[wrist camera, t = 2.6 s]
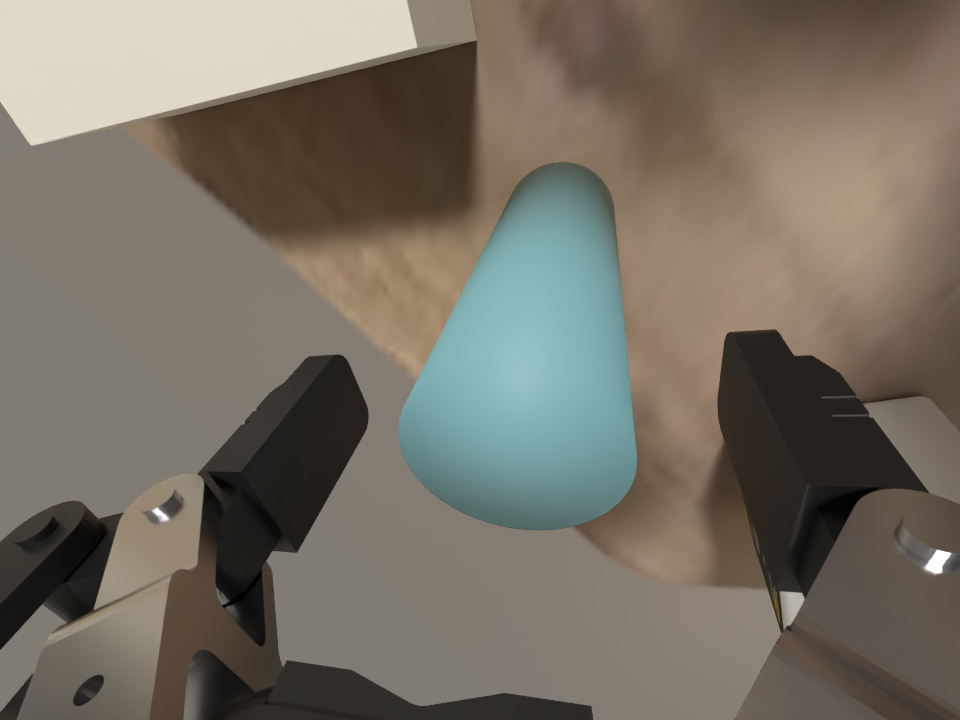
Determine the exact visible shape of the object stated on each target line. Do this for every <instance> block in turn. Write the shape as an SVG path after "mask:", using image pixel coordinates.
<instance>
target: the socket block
mask: <svg viewBox="0 0 960 720" xmlns="http://www.w3.org/2000/svg"><path fill="white" fill-rule="evenodd" d="M473 41H477V39H476V33H475V27H474V21H473V15H472V9H471V3H470V0H0V102H1V103H2V105H3V106H4V107H5V109H6V110H7V112H8V113H9V115H10V116H11V118H12V119H13V120H14V122H15V123H16V125H17V126H18V128H19V129H20V131H21V132H22V134H23V135H24V136H25V138H26V139H27V141H28V142H29V143H30V145H31V146H33V145H38V144H42V143H47V142H51V141H56V140H61V139H66V138H71V137H75V136H80V135H85V134H90V133H94V132H99V131H103V130H109V129H113V128H118V127H123V126H128V125H132V124H137V123H142V122H146V121H151V120H156V119H161V118H165V117H170V116H175V115H180V114H184V113H188V112H192V111H196V110H200V109H204V108H208V107H212V106H216V105H220V104H224V103H228V102H232V101H236V100H240V99H244V98H248V97H252V96H256V95H260V94H264V93H268V92H272V91H276V90H280V89H284V88H288V87H292V86H296V85H300V84H304V83H308V82H312V81H316V80H320V79H324V78H328V77H332V76H336V75H340V74H344V73H348V72H352V71H356V70H360V69H365V68H369V67H373V66H377V65H381V64H385V63H389V62H393V61H397V60H401V59H405V58H409V57H413V56H417V55H421V54H425V53H429V52H433V51H437V50H441V49H445V48H449V47H453V46H457V45H461V44H465V43H469V42H473Z"/></svg>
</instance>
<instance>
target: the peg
mask: <svg viewBox="0 0 960 720" xmlns="http://www.w3.org/2000/svg"><path fill="white" fill-rule="evenodd" d="M398 434H399V435H398V436H399V441H400V447H401V450H402V453H403V456H404V458H405V460H406V462H407V464H408V466H409V467H410V469H411V470H412V472H413V473H414V474H415V476H416V477H417V478H418V479H419V481H420V482H421V483H422V484H423V485H424V486H425V487H426V488H427V489H428V490H429V491H430V492H431V493H433V494H434V495H435V496H437V497H438V498H439V499H440V500H442V501H443V502H445V503H447V504H448V505H450V506H451V507H453V508H455V509H457V510H459V511H460V512H462V513H464V514H467V515H469V516H471V517H474V518H476V519H479V520H482V521H485V522H488V523H491V524H496V525H499V526H504V527H509V528H515V529H525V530H554V529H561V528H568V527H572V526H576V525H580V524H583V523H586V522H589V521H591V520H594V519H596V518H598V517H600V516H602V515H603V514H605V513H606V512H608V511H609V510H611V509H612V508H614V507H615V506H616V505H617V504H618V503H619V502H620V501H621V500H622V499H623V498H624V496H625V495H626V494H627V493H628V491H629V489H630V487H631V485H632V483H633V481H634V478H635V475H636V470H637V451H636V440H635V429H634V419H633V408H632V397H631V386H630V376H629V365H628V354H627V343H626V333H625V322H624V311H623V300H622V290H621V279H620V268H619V257H618V247H617V236H616V225H615V214H614V204H613V200H612V197H611V194H610V192H609V190H608V188H607V186H606V185H605V183H604V182H603V181H602V180H601V179H600V178H599V177H598V176H597V175H596V174H595V173H593V172H592V171H591V170H589V169H587V168H585V167H583V166H580V165H577V164H573V163H564V162H559V163H552V164H547V165H544V166H542V167H539V168H537V169H535V170H533V171H532V172H530V173H529V174H528V175H526V176H525V177H524V178H523V179H522V180H521V181H520V182H519V184H518V185H517V186H516V188H515V190H514V191H513V193H512V195H511V197H510V199H509V201H508V203H507V205H506V207H505V209H504V211H503V213H502V215H501V217H500V219H499V220H498V222H497V224H496V226H495V228H494V230H493V232H492V234H491V236H490V238H489V240H488V242H487V244H486V246H485V248H484V250H483V252H482V254H481V256H480V258H479V260H478V262H477V264H476V266H475V268H474V270H473V272H472V274H471V276H470V278H469V280H468V282H467V283H466V285H465V287H464V289H463V291H462V293H461V295H460V297H459V299H458V301H457V303H456V305H455V307H454V309H453V311H452V313H451V315H450V317H449V319H448V321H447V323H446V325H445V327H444V329H443V331H442V333H441V335H440V337H439V339H438V341H437V343H436V345H435V346H434V348H433V350H432V352H431V354H430V356H429V358H428V360H427V362H426V364H425V366H424V368H423V370H422V372H421V374H420V376H419V378H418V380H417V382H416V384H415V386H414V388H413V390H412V392H411V394H410V396H409V398H408V400H407V402H406V404H405V406H404V408H403V411H402V413H401V417H400V421H399V433H398Z"/></svg>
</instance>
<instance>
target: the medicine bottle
mask: <svg viewBox="0 0 960 720" xmlns="http://www.w3.org/2000/svg"><path fill="white" fill-rule="evenodd" d="M863 405H864V406H865V408H866V409H867V410H868V412H869V416H870V418H874V420H875V421H876V422H877V424H878V425H879V426H880V428H881V429H882V430H883V432H884V433H885V434H886V436H887V437H888V438H889V440H890V441H891V442H892V444H893V445H894V446H895V448H896V449H897V450H898V452H899V453H900V454H901V455H902V457H903V458H904V459H905V461H906V462H907V463H908V465H909V466H910V467H911V469H912V470H913V471H914V473H915V474H916V475H917V477H918V478H919V479H920V481H921V482H922V483H923V485H924V486H925V487H926V489H927V490H928V491H929V493H930V494H934V495H937V496H940V497H943V498H946V499H948V500H951V501H953V502H955V503H958V504H960V431H959V430H958V429H957V428H956V427H955V426H954V425H953V424H952V422H951V421H950V420H949V419H948V418H947V417H946V416H945V415H944V414H943V412H942V411H941V410H940V409H939V408H938V407H937V406H936V405H935V403H934V402H933V401H932V400H930V399H928V398H927V397H925V396H916V397H909V398H901V399H894V400H886V401H879V402H871V403H863ZM742 495H743V493H742ZM743 502H744V509H745V516H746V519H747V522H748V525H749V529H750V532H751V535H752V539H753V542H754V545H755V548H756V552H757V555H758V558H759V562H760V565H761V568H762V571H763V575H764V578H765V581H766V585H767V588H768V591H769V594H770V597H771V601H772V604H773V607H774V611H775V614H776V617H777V621H778V624H779V627H780V631H781V634H782V632H783V631H784V629H785V628H786V627H787V626H788V625H789V626H790V625H791V623H792V622H793V620H794V618H795V617H796V615H797V613H798V611H799V609H800V607H801V606H802V604H803V602H804V600H805V599H804V596H803V594H802V593H796V592H783V591H775V588H774V585H773V582H772V579H771V576H770V573H769V570H768V567H767V564H766V561H765V558H764V555H763V552H762V549H761V547H760V544H759V541H758V538H757V535H756V532H755V529H754V526H753V523H752V520H751V517H750V514H749V511H748V508H747V505H746V502H745V499H744V496H743Z"/></svg>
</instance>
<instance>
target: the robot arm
mask: <svg viewBox="0 0 960 720" xmlns="http://www.w3.org/2000/svg"><path fill="white" fill-rule="evenodd" d="M855 395H856V394H855V393H854V392H853V390H852V389H851V388H850V386H849V385H848V384H847V382H846V381H845V380H844V378H843V377H842V376H841V374H840V373H839V372H837V371H836V370H834V369H833V368H831V367H829V366H828V365H826V364H825V363H823V362H821V361H820V360H818V359H817V358H815V357H814V356H812V355H811V356H794V355H793V354H792V352H791V351H790V349H789V348H788V346H787V344H786V343H785V341H784V340H783V338H782V337H781V335H780V334H779V332H778V331H777V330H757V331H740V332H729V333H727V335H726V338H725V342H724V349H723V358H722V366H721V374H720V383H719V391H718V418H719V424H720V428H721V432H722V434H723V437H724V440H725V443H726V446H727V449H728V452H729V455H730V458H731V461H732V464H733V467H734V470H735V473H736V476H737V479H738V482H739V485H740V488H741V491H742V493H743V496H744V499H745V502H746V505H747V508H748V511H749V514H750V517H751V520H752V523H753V526H754V529H755V532H756V535H757V538H758V541H759V544H760V547H761V549H762V552H763V555H764V558H765V561H766V564H767V567H768V570H769V573H770V576H771V579H772V582H773V585H774V588H775V591H783V592H796V593H802V594H803V596H804V599H805V600H804V602H803V604H802V606H801V607H800V609H799V611H798V613H797V615H796V617H795V618H794V620H793V622H792V623H791V625H790V626H789V625H788V626H787V627H786V628H785V629H784V631H783V632H782V634H781V635H780V637H779V639H778V640H777V642H776V644H775V646H774V647H773V649H772V651H771V653H770V655H769V657H768V658H767V660H766V662H765V664H764V666H763V668H762V669H761V671H760V674H759V675H758V677H757V679H756V681H755V682H754V684H753V686H752V688H751V690H750V692H749V693H748V695H747V697H746V699H745V701H744V703H743V705H742V706H741V708H740V710H739V712H738V714H737V716H736V717H735V719H734V720H960V504H958V503H955V502H953V501H951V500H948V499H946V498H943V497H940V496H937V495H934V494H930V493H929V491H928V490H927V489H926V487H925V486H924V485H923V483H922V482H921V481H920V479H919V478H918V477H917V475H916V474H915V473H914V471H913V470H912V469H911V467H910V466H909V465H908V463H907V462H906V461H905V459H904V458H903V457H902V455H901V454H900V453H899V452H898V450H897V449H896V448H895V446H894V445H893V444H892V442H891V441H890V440H889V438H888V437H887V436H886V434H885V433H884V432H883V430H882V429H881V428H880V426H879V425H878V424H877V422H876V421H875V420H874V418H870V416H869V412H868V410H867V409H866V408H865V406H864V405H863V404H862V402H861V401H860V400H859V399H856V397H855ZM367 425H368V408H367V405H366V402H365V400H364V398H363V395H362V393H361V391H360V388H359V386H358V384H357V381H356V379H355V377H354V375H353V372H352V370H351V367H350V365H349V363H348V361H347V360H346V358H345V357H344V356H342V355H323V356H310V357H308V358H306V359H305V360H304V361H303V362H302V363H301V365H300V366H299V367H298V368H297V369H296V370H295V371H294V373H293V374H292V375H291V376H290V377H289V378H288V379H287V380H286V382H284V383H283V384H282V385H280V386H279V387H277V388H276V389H274V390H273V391H272V392H270V394H269V395H268V396H267V397H266V398H265V399H264V400H263V401H262V402H261V404H260V405H259V406H258V407H257V411H254V412H252V414H251V415H250V416H249V417H248V418H247V419H246V420H245V424H244V425H241V426H240V427H239V428H238V429H237V430H236V432H235V433H234V434H233V435H232V436H231V437H230V438H229V439H228V441H227V442H226V443H225V444H224V445H223V446H222V447H221V448H220V449H219V450H218V452H217V453H216V454H215V455H214V456H213V457H212V458H211V459H210V461H209V462H208V463H207V464H206V465H205V466H204V467H203V468H202V469H201V471H200V472H199V473H198V474H193V473H191V474H190V473H188V474H187V473H186V474H180V475H177V476H173V477H171V478H168V479H166V480H164V481H162V482H160V483H158V484H156V485H154V486H153V487H151V488H150V489H148V490H147V491H145V492H144V493H143V494H141V495H140V496H139V497H138V498H137V499H136V500H135V501H134V502H133V503H132V504H131V505H130V506H129V507H128V508H127V509H126V511H125V512H124V513H120V514H116V515H112V516H108V517H104V518H100V519H98V518H97V517H96V516H95V515H94V514H93V513H92V512H91V511H90V510H89V509H88V508H87V507H86V506H85V505H84V504H83V503H82V502H79V501H68V502H64V503H61V504H57V505H55V506H52V507H50V508H48V509H46V510H44V511H42V512H40V513H38V514H36V515H35V516H33V517H32V518H30V519H28V520H27V521H25V522H24V523H22V524H21V525H20V526H18V527H17V528H16V529H15V530H13V531H12V532H11V533H10V534H9V535H8V536H6V537H5V538H4V539H3V540H2V541H1V542H0V650H1V648H2V647H3V646H4V645H5V644H6V643H7V642H8V641H9V639H11V638H12V636H13V635H14V634H15V633H16V632H17V631H18V630H19V629H20V628H21V626H23V624H24V623H25V622H26V621H27V620H28V619H29V618H30V617H31V616H32V615H33V614H34V612H35V611H36V610H37V609H38V608H39V607H40V606H41V605H42V604H43V605H44V606H45V607H47V608H48V609H49V610H51V611H52V612H53V613H55V614H56V615H58V616H59V617H61V618H62V619H63V620H64V621H66V622H67V623H66V624H64V625H62V626H60V627H59V628H57V629H56V630H54V632H52V634H51V635H50V636H49V638H48V639H47V640H46V642H45V644H44V647H43V649H42V652H41V654H40V657H39V660H38V663H37V665H36V668H35V671H34V673H33V674H32V675H31V676H30V677H29V679H28V680H27V681H26V682H25V684H24V685H23V686H22V687H21V688H20V689H19V691H18V692H17V693H16V694H15V696H14V697H13V698H12V699H11V700H10V702H9V703H8V704H7V705H6V706H5V708H4V709H3V710H2V711H1V712H0V720H593V714H592V709H591V708H592V707H591V706H586V705H581V704H574V703H567V702H561V701H554V700H547V699H541V698H533V697H527V696H521V695H514V694H507V693H503V694H497V695H491V696H485V697H479V698H473V699H466V700H460V701H454V702H447V703H441V704H435V705H429V706H417V705H414V704H411V703H409V702H408V701H406V700H404V699H402V698H400V697H399V696H397V695H395V694H393V693H391V692H390V691H388V690H386V689H384V688H383V687H380V686H379V685H377V684H375V683H374V682H372V681H370V680H368V679H366V678H365V677H363V676H361V675H359V674H358V673H356V672H354V671H352V670H347V669H340V668H334V667H328V666H321V665H314V664H308V663H301V662H294V661H288V660H287V661H286V664H285V666H284V667H283V666H282V664H281V661H280V656H279V650H278V638H277V626H276V613H275V600H274V588H273V574H272V569H271V567H270V565H269V564H268V562H267V561H266V560H267V559H268V557H269V556H270V553H271V552H272V551H281V552H295V553H296V552H298V550H299V548H300V546H301V545H302V543H303V541H304V539H305V538H306V536H307V534H308V532H309V530H310V529H311V527H312V525H313V523H314V522H315V520H316V518H317V516H318V515H319V513H320V511H321V509H322V508H323V506H324V504H325V502H326V500H327V499H328V497H329V495H330V493H331V491H332V490H333V488H334V486H335V484H336V482H337V481H338V479H339V477H340V476H341V474H342V472H343V470H344V469H345V467H346V465H347V463H348V461H349V460H350V458H351V456H352V454H353V453H354V451H355V449H356V447H357V445H358V444H359V442H360V440H361V438H362V437H363V435H364V433H365V431H366V429H367Z"/></svg>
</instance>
